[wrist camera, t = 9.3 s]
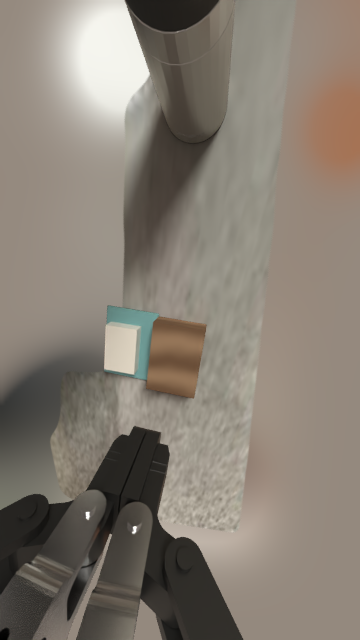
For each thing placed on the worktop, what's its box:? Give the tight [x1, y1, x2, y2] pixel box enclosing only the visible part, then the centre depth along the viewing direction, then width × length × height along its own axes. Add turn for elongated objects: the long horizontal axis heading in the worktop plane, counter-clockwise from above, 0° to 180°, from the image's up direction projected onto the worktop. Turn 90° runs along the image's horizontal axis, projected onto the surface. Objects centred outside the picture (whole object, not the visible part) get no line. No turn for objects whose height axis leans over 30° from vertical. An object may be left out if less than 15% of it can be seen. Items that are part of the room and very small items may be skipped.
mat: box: [104, 306, 159, 380], centre depth 44 cm, size 14×10×1 cm
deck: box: [146, 317, 206, 398], centre depth 41 cm, size 13×9×4 cm
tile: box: [104, 322, 141, 375], centre depth 43 cm, size 9×6×2 cm, turn 173°
